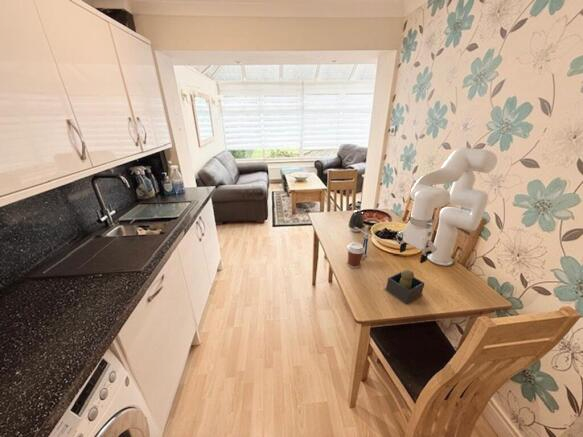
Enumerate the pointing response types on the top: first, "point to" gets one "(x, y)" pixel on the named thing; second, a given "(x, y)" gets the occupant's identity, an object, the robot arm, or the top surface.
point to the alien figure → (366, 239)
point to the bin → (401, 291)
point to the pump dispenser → (356, 221)
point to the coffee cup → (355, 254)
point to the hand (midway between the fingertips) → (412, 256)
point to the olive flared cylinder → (406, 278)
